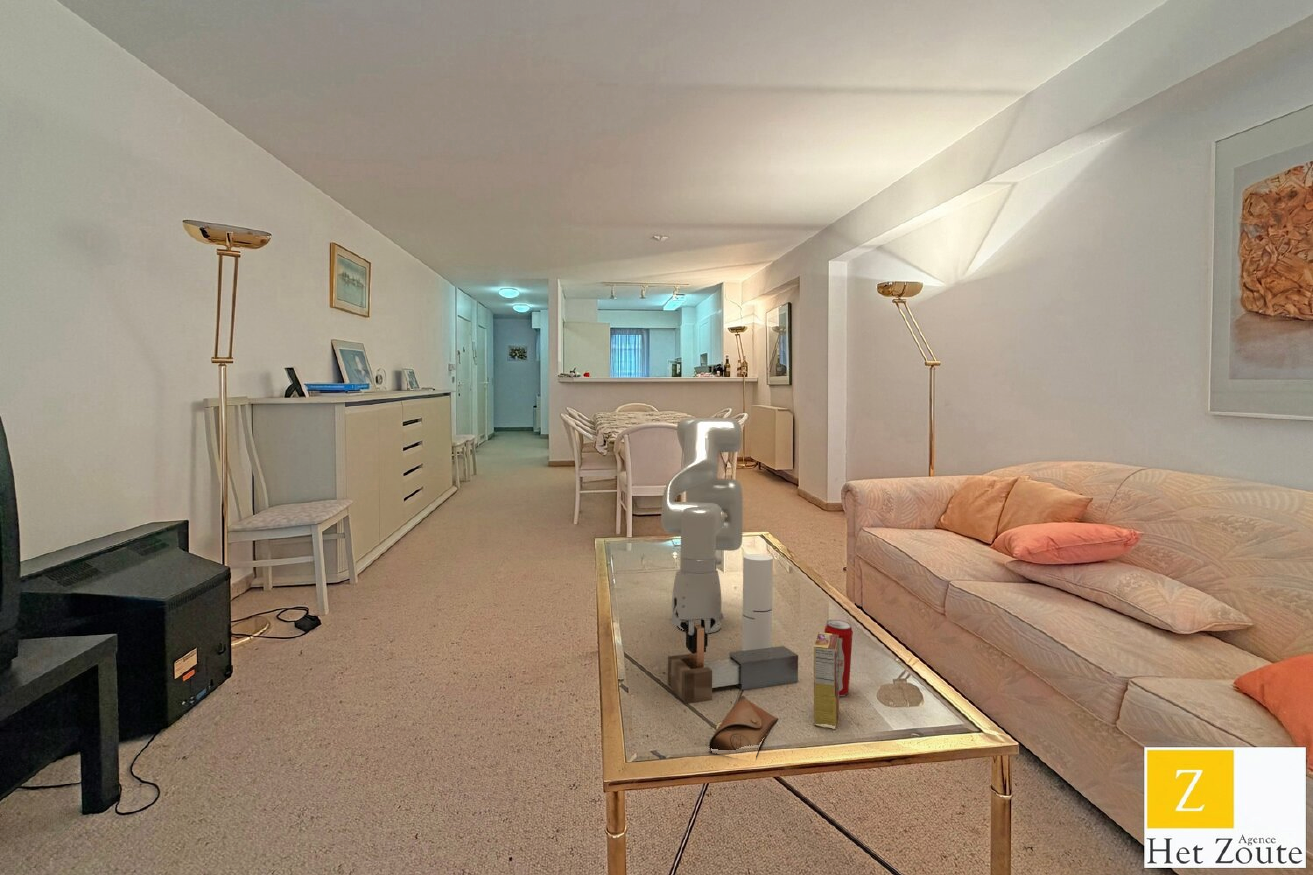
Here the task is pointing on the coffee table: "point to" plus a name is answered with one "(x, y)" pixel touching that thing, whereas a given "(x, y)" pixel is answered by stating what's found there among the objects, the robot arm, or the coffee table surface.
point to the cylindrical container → (757, 602)
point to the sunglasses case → (742, 727)
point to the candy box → (826, 679)
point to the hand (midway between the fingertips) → (696, 650)
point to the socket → (689, 680)
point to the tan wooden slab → (714, 663)
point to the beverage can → (842, 651)
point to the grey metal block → (766, 667)
